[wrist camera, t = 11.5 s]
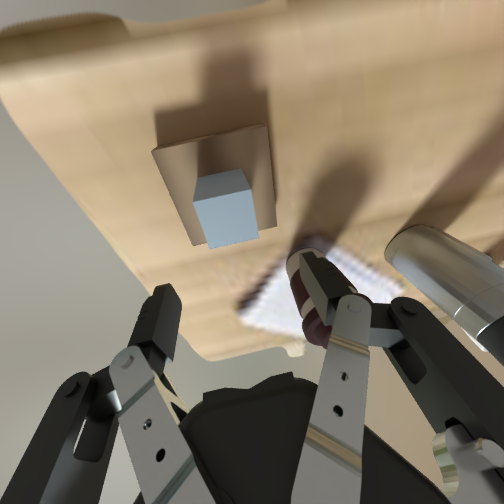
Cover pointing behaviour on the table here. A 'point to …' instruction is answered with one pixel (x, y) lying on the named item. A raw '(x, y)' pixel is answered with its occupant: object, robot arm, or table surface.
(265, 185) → the base
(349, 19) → the table surface
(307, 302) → the coffee cup
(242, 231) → the block
